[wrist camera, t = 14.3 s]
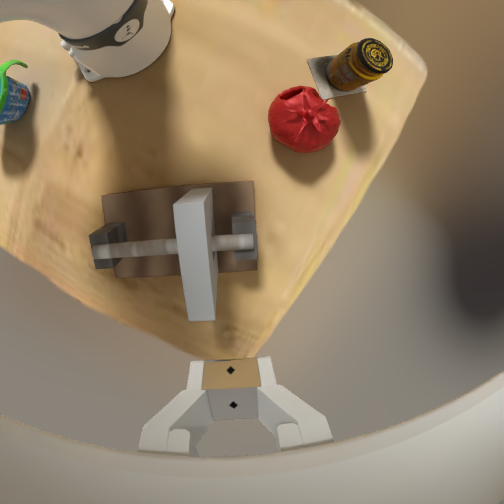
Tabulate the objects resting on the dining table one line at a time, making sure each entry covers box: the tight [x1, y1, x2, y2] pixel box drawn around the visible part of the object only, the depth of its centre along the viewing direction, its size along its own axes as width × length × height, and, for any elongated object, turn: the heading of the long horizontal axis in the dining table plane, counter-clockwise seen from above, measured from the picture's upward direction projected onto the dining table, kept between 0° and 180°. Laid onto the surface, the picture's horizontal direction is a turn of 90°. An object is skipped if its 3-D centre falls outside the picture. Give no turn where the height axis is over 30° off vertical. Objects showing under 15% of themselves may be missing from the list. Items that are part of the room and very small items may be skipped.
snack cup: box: [0, 60, 30, 125], centre depth 26 cm, size 16×10×10 cm
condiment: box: [307, 38, 393, 100], centre depth 31 cm, size 7×8×12 cm
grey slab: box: [173, 188, 218, 321], centre depth 35 cm, size 3×13×14 cm, turn 2°
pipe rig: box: [89, 181, 257, 278], centre depth 38 cm, size 24×14×9 cm, turn 92°
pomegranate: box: [268, 86, 340, 153], centre depth 34 cm, size 10×10×9 cm
